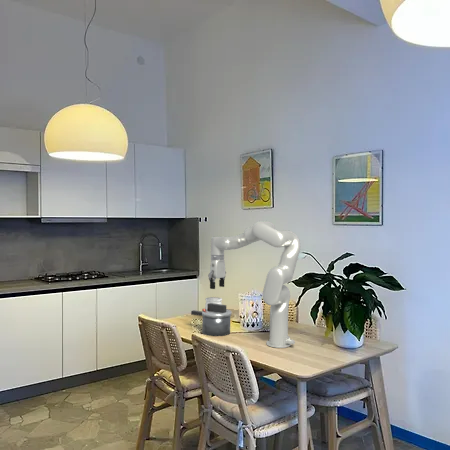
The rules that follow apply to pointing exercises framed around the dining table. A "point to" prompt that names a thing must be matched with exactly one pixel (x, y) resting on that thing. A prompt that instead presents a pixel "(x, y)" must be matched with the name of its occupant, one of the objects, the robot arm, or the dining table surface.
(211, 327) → the grey saucepan
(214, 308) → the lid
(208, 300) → the jar
